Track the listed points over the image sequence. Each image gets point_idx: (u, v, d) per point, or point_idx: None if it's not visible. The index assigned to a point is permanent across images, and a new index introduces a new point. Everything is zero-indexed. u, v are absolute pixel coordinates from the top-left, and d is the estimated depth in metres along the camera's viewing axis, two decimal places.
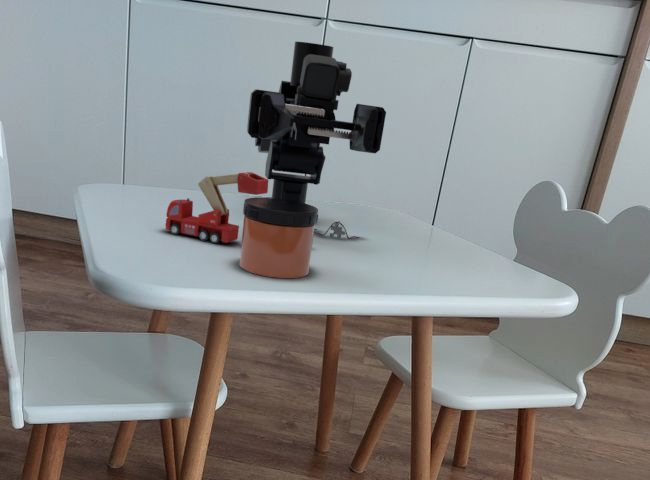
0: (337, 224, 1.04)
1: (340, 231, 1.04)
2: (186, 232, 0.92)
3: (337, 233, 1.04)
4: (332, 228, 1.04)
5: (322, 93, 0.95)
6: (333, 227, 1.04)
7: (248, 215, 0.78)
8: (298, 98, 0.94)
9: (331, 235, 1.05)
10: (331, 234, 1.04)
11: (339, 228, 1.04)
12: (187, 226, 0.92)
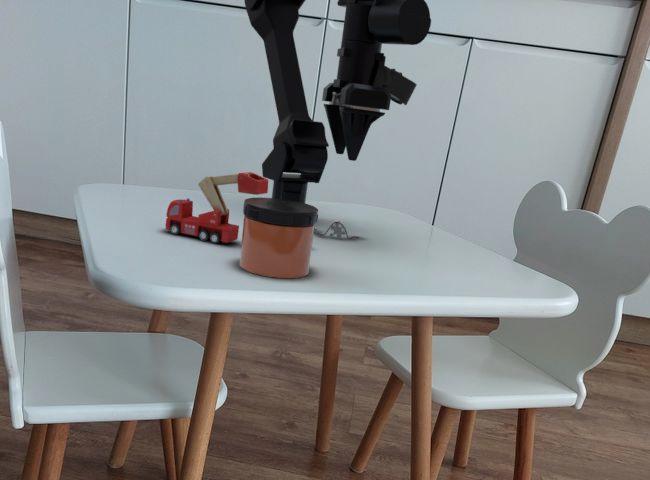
0: (337, 224, 1.04)
1: (340, 231, 1.04)
2: (186, 232, 0.92)
3: (337, 233, 1.04)
4: (332, 228, 1.04)
5: None
6: (333, 227, 1.04)
7: (248, 215, 0.78)
8: None
9: (331, 235, 1.05)
10: (331, 234, 1.04)
11: (339, 228, 1.04)
12: (187, 226, 0.92)
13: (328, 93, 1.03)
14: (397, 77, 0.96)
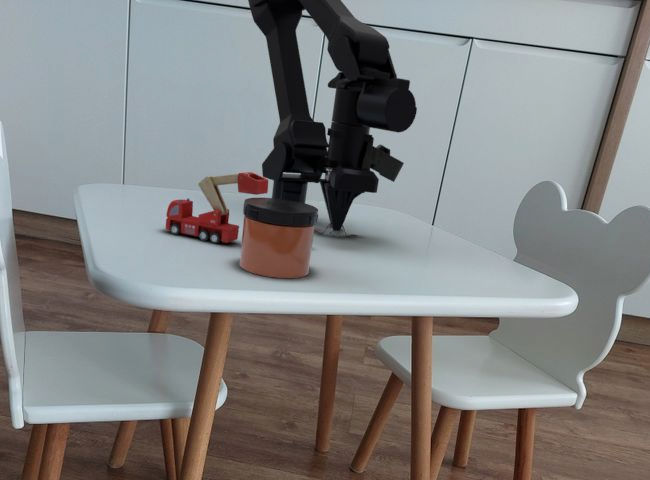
0: None
1: None
2: (186, 232, 0.92)
3: (336, 231, 1.06)
4: (331, 226, 1.05)
5: None
6: None
7: (248, 215, 0.78)
8: None
9: (330, 233, 1.06)
10: (330, 232, 1.06)
11: None
12: (187, 226, 0.92)
13: (319, 167, 1.07)
14: (385, 157, 1.00)
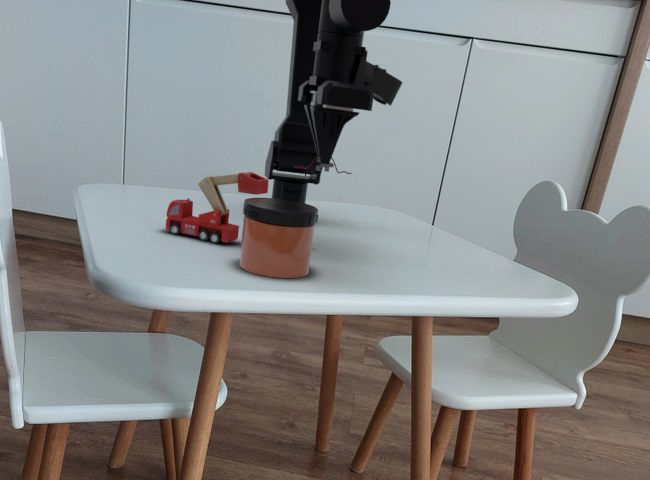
0: None
1: None
2: (186, 232, 0.92)
3: (324, 165, 0.91)
4: (319, 159, 0.91)
5: None
6: None
7: (248, 215, 0.78)
8: None
9: (318, 168, 0.91)
10: (318, 167, 0.91)
11: None
12: (187, 226, 0.92)
13: (304, 92, 0.93)
14: (380, 74, 0.86)
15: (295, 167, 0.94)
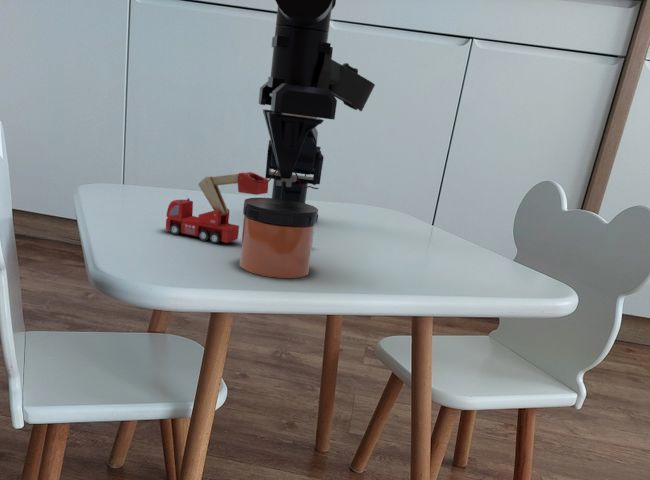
0: None
1: None
2: (186, 232, 0.92)
3: (286, 180, 0.79)
4: (279, 173, 0.79)
5: None
6: None
7: (248, 215, 0.78)
8: None
9: (278, 183, 0.79)
10: (278, 181, 0.79)
11: None
12: (187, 226, 0.92)
13: (264, 94, 0.80)
14: (349, 75, 0.74)
15: (253, 181, 0.81)
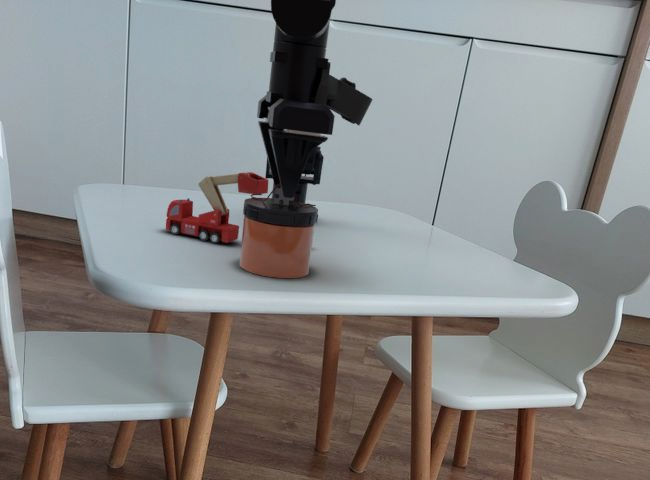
0: None
1: None
2: (186, 232, 0.92)
3: (284, 198, 0.80)
4: (277, 191, 0.79)
5: None
6: (278, 190, 0.79)
7: (248, 215, 0.78)
8: None
9: (276, 201, 0.80)
10: (276, 199, 0.80)
11: None
12: (187, 226, 0.92)
13: (262, 108, 0.81)
14: (346, 90, 0.74)
15: None
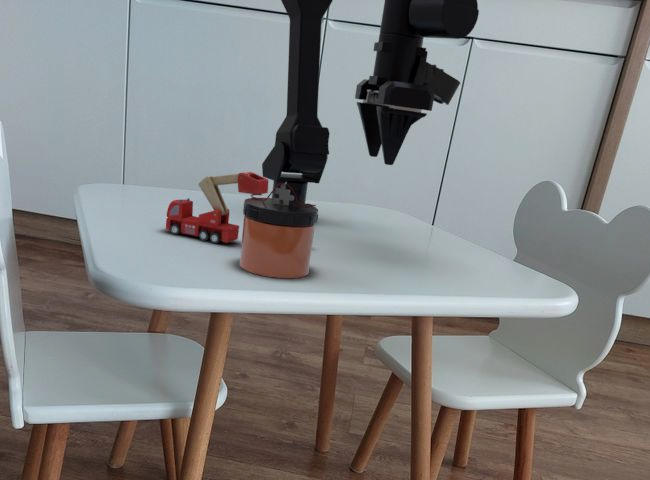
0: (283, 186, 0.79)
1: (287, 195, 0.79)
2: (186, 232, 0.92)
3: (284, 198, 0.80)
4: (277, 191, 0.79)
5: None
6: (278, 190, 0.79)
7: (248, 215, 0.78)
8: None
9: (276, 201, 0.80)
10: (276, 199, 0.80)
11: (286, 191, 0.79)
12: (187, 226, 0.92)
13: (362, 91, 0.95)
14: (439, 74, 0.88)
15: None
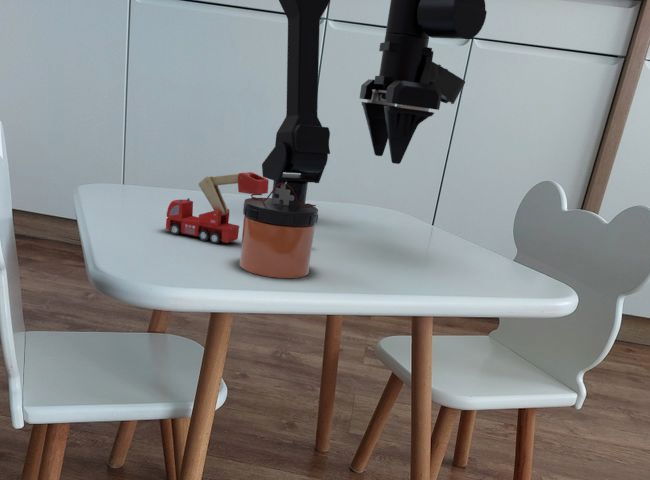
0: (283, 186, 0.79)
1: (287, 195, 0.79)
2: (186, 232, 0.92)
3: (284, 198, 0.80)
4: (277, 191, 0.79)
5: None
6: (278, 190, 0.79)
7: (248, 215, 0.78)
8: None
9: (276, 201, 0.80)
10: (276, 199, 0.80)
11: (286, 191, 0.79)
12: (187, 226, 0.92)
13: (367, 90, 0.96)
14: (445, 74, 0.89)
15: None
